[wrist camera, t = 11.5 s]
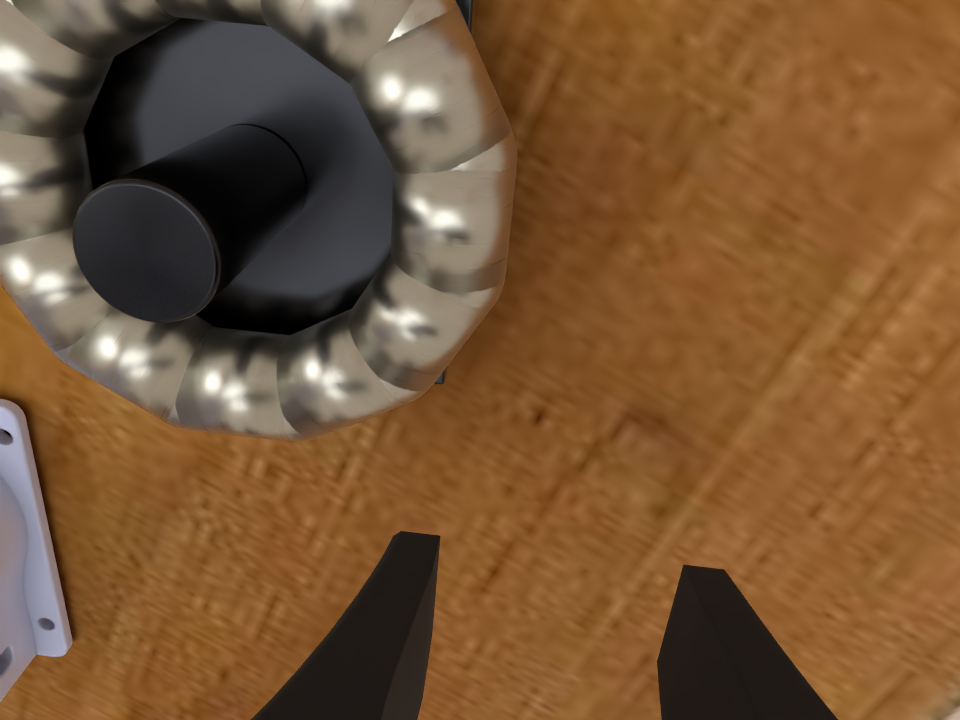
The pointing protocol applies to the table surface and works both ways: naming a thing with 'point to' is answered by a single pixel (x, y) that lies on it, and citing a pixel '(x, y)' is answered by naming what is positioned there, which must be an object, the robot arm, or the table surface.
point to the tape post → (232, 182)
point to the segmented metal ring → (248, 354)
